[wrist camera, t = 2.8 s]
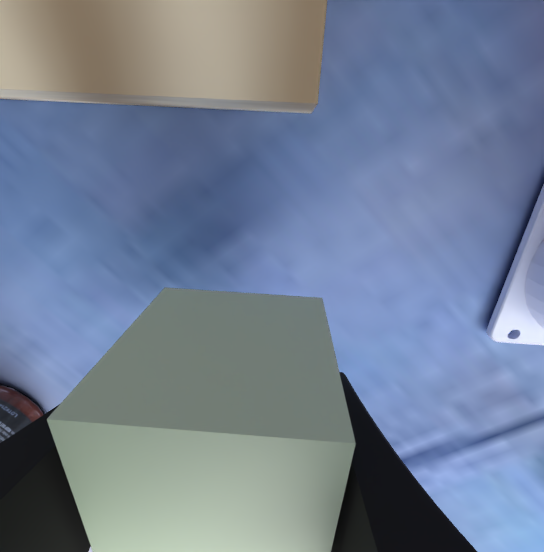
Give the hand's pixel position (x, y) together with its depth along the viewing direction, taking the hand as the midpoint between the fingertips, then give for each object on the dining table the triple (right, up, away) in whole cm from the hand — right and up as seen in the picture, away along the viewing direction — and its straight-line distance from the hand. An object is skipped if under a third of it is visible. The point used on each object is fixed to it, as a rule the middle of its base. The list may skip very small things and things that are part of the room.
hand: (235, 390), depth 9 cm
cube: (0, +1, +1) cm, 2 cm away
